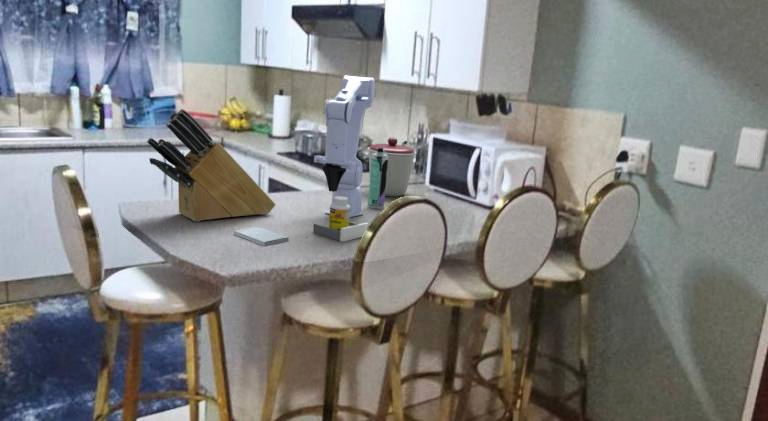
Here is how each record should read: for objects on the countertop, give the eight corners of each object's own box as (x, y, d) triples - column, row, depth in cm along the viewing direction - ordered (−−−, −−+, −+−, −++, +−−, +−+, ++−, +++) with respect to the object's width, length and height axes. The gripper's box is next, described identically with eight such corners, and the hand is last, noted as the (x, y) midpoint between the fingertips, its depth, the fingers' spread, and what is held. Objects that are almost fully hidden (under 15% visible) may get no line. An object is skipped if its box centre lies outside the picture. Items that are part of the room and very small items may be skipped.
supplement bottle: (324, 233, 174) (326, 197, 172) (335, 229, 179) (338, 194, 176) (340, 237, 171) (343, 200, 169) (352, 233, 176) (354, 198, 174)
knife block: (144, 216, 175) (144, 105, 168) (257, 206, 198) (261, 107, 190) (160, 226, 167) (160, 109, 160) (275, 214, 189) (280, 111, 182)
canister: (386, 200, 221) (391, 141, 216) (353, 190, 234) (358, 134, 229) (422, 196, 233) (427, 140, 229) (389, 187, 246) (394, 133, 241)
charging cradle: (338, 226, 182) (339, 214, 181) (367, 235, 176) (368, 222, 175) (313, 232, 174) (313, 219, 173) (342, 241, 167) (343, 228, 166)
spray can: (386, 208, 210) (391, 149, 205) (371, 208, 207) (376, 148, 203) (380, 204, 214) (385, 146, 210) (365, 204, 212) (370, 146, 208)
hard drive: (288, 237, 164) (258, 225, 171) (264, 241, 158) (233, 230, 165) (288, 243, 164) (258, 231, 172) (264, 248, 158) (233, 236, 166)
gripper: (307, 140, 178) (304, 187, 181) (346, 148, 169) (342, 197, 172) (324, 139, 183) (321, 185, 186) (362, 147, 175) (358, 194, 178)
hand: (332, 191), depth 179 cm, fingers closed
